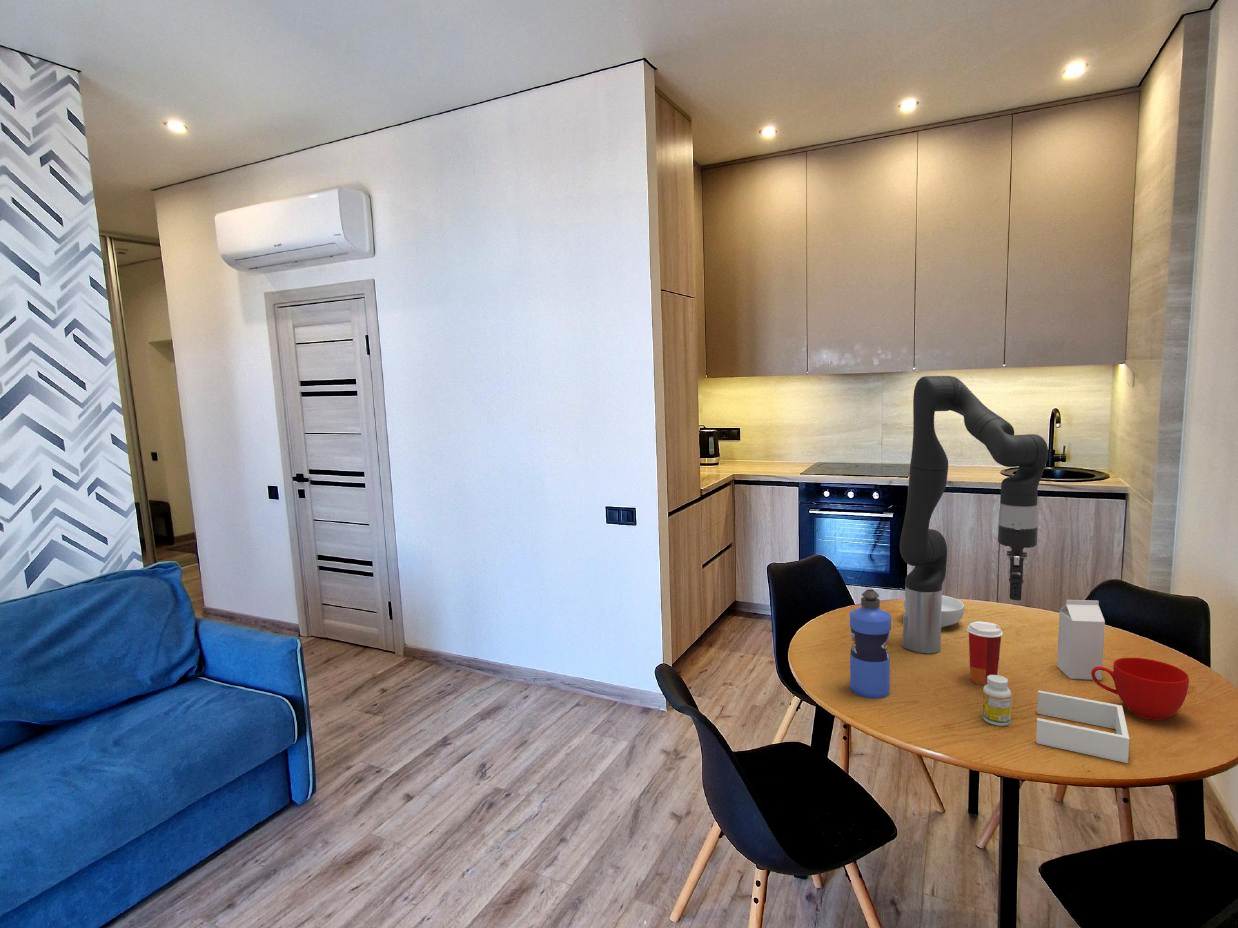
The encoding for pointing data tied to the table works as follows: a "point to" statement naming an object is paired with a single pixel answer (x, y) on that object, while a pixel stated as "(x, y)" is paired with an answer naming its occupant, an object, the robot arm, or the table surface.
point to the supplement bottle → (997, 701)
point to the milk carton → (1080, 639)
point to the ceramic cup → (1147, 686)
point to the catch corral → (1079, 736)
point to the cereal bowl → (950, 611)
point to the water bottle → (870, 648)
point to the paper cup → (983, 650)
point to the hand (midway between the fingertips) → (1015, 594)
